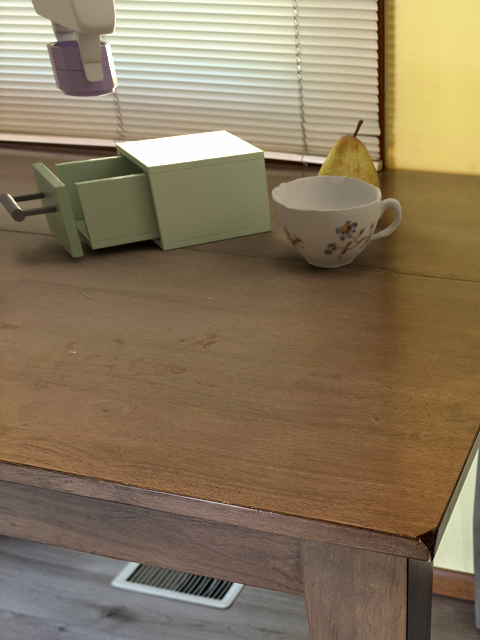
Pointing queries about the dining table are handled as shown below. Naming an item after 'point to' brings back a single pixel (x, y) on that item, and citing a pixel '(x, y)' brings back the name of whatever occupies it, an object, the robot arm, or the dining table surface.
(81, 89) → the bowl
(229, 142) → the cabinet
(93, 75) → the robot arm
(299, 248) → the teacup
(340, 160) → the fruit
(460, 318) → the dining table surface
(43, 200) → the drawer
